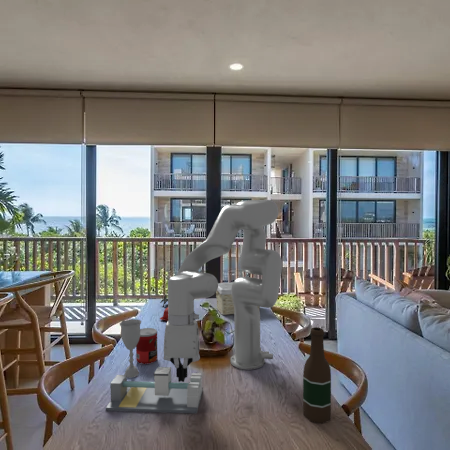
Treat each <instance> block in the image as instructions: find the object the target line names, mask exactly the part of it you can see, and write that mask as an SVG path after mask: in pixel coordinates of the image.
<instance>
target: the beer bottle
mask: <svg viewBox="0 0 450 450" xmlns="http://www.w3.org/2000/svg"><path fill="white" fill-rule="evenodd" d="M324 331H325V330H324V328H321V327H316V326H315V327H312V328H311V329H310V334H311V337H310V339H311V340H310V354H309V357H307V359H306V360H305V363H304V365H303V366H304V367H303V373H302V395H303V396H302V398H303V399H302V402H303V403H302V408H303V409H302V412H303V417H305V418H306V419H307V420H308V421H309V422H311V423H315V424H325V423H327V422H330V421H331V418H332V417H331V416H332V415H331V414H332V371H331V367H330V364H329V361H328V360H327V359H326V358H325V357H326V356H325V350H324V347H325V346H324V335H325V332H324Z"/></svg>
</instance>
